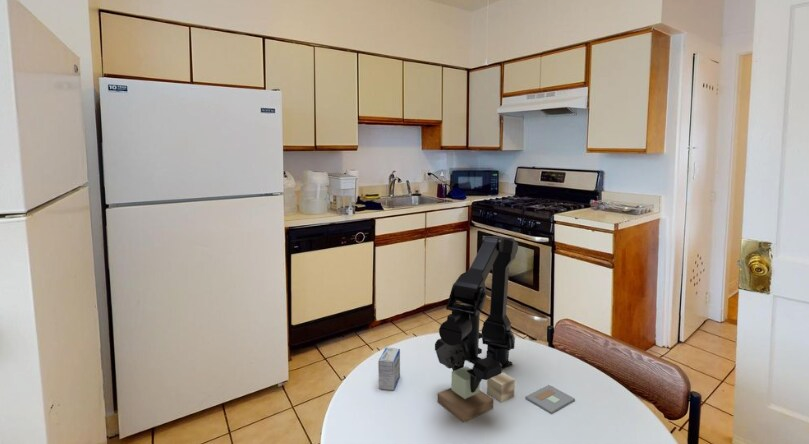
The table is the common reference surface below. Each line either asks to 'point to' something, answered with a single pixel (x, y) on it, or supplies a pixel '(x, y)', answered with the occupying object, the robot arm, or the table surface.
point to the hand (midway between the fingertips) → (465, 387)
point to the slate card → (550, 399)
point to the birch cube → (501, 387)
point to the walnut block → (465, 404)
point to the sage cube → (462, 383)
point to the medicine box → (389, 368)
